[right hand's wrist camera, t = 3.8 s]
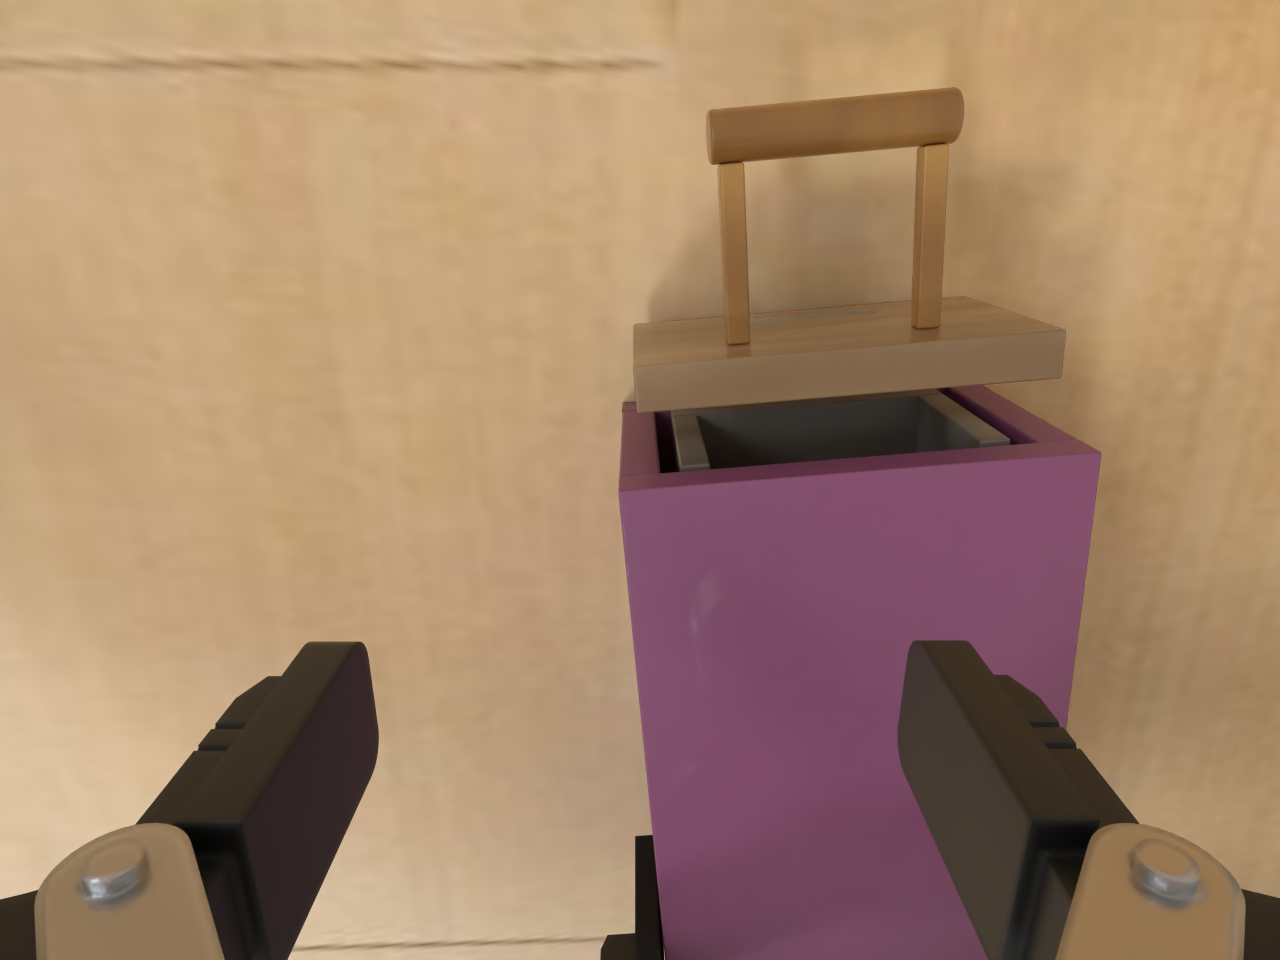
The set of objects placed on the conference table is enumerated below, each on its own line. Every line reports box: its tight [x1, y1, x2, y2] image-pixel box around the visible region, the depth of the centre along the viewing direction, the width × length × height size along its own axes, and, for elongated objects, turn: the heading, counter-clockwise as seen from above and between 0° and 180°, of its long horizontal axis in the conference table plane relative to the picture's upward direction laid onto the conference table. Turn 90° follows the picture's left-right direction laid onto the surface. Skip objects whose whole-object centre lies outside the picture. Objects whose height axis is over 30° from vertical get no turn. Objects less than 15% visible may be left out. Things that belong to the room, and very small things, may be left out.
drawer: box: [633, 87, 1066, 472], centre depth 24 cm, size 25×10×6 cm, turn 5°
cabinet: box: [618, 385, 1101, 960], centre depth 27 cm, size 21×12×8 cm, turn 5°
